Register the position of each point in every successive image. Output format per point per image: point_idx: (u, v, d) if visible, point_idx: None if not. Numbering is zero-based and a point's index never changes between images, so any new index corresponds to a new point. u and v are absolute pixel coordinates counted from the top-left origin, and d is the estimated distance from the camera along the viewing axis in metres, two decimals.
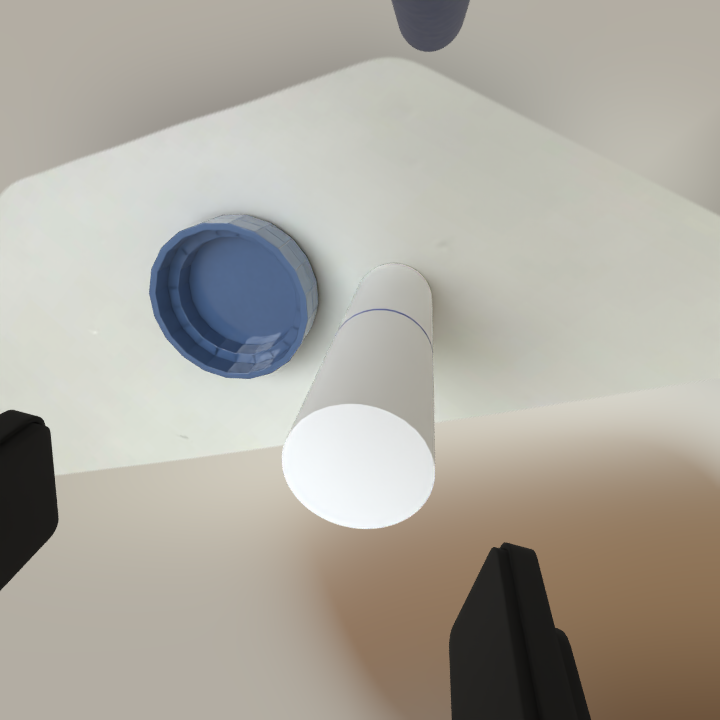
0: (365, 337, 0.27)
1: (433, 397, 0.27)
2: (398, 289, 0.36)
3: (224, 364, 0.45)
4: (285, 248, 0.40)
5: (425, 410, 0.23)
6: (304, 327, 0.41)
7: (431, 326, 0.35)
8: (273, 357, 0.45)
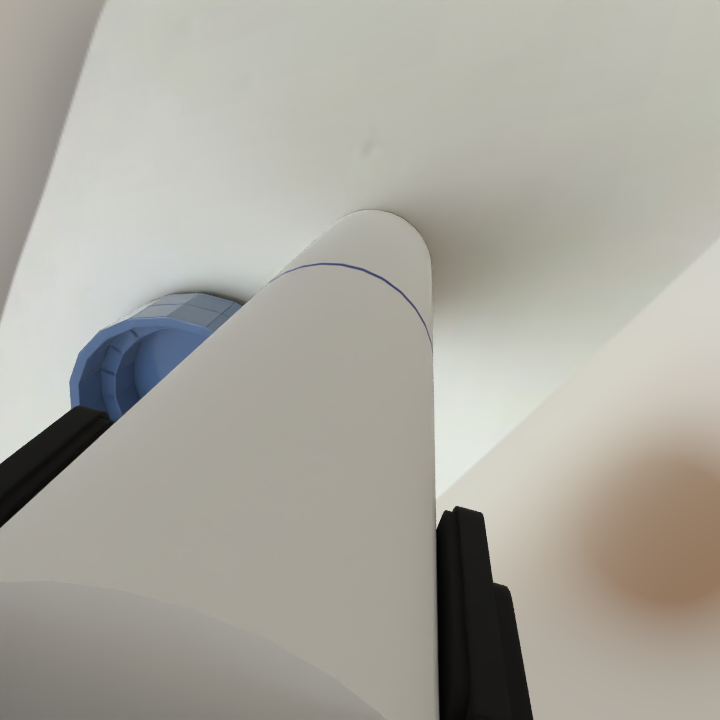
0: None
1: (385, 376, 0.10)
2: (315, 243, 0.20)
3: None
4: (184, 310, 0.27)
5: (275, 445, 0.07)
6: None
7: (395, 256, 0.19)
8: None
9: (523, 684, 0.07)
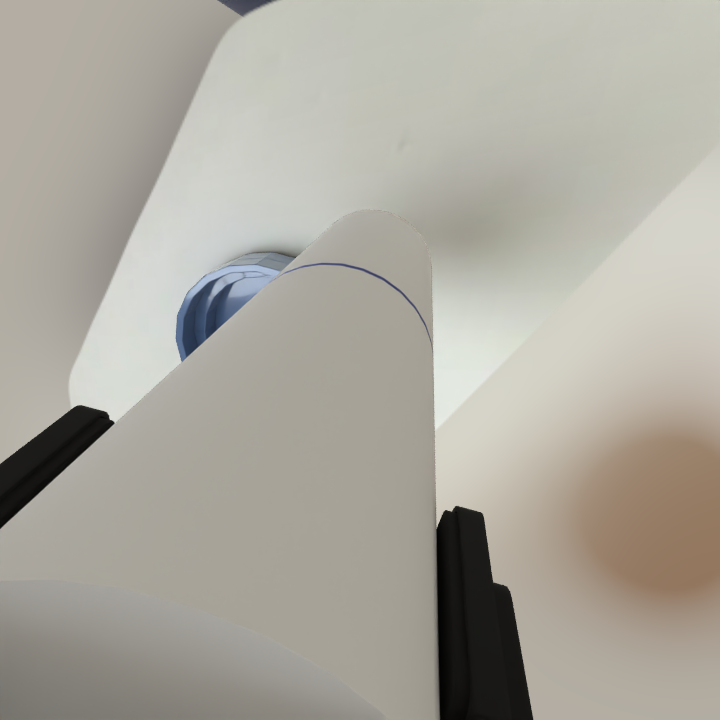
0: None
1: (385, 375, 0.10)
2: (315, 243, 0.20)
3: None
4: (266, 261, 0.37)
5: (276, 445, 0.07)
6: None
7: (396, 256, 0.19)
8: None
9: (523, 683, 0.07)
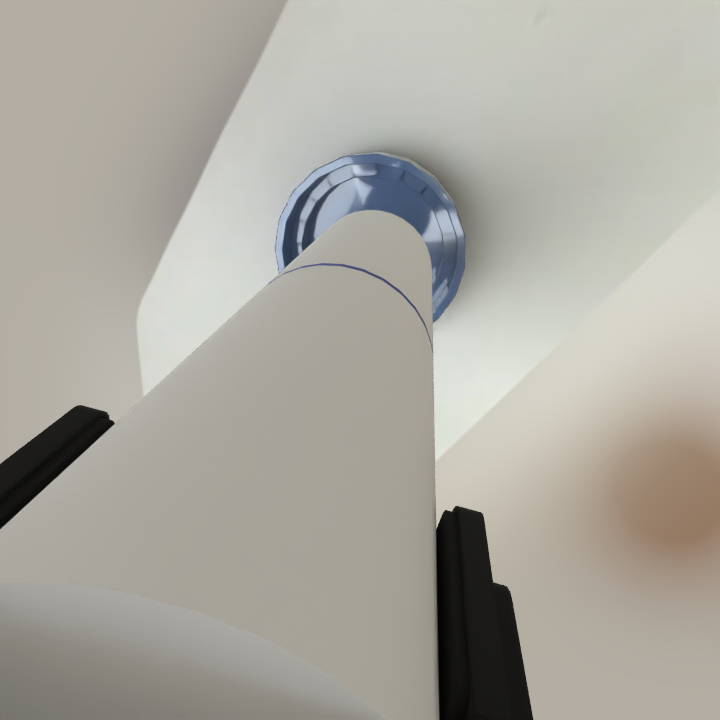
0: None
1: (385, 376, 0.10)
2: (315, 243, 0.20)
3: None
4: (383, 154, 0.33)
5: (275, 446, 0.07)
6: (456, 216, 0.33)
7: (395, 256, 0.19)
8: (445, 284, 0.38)
9: (522, 684, 0.07)
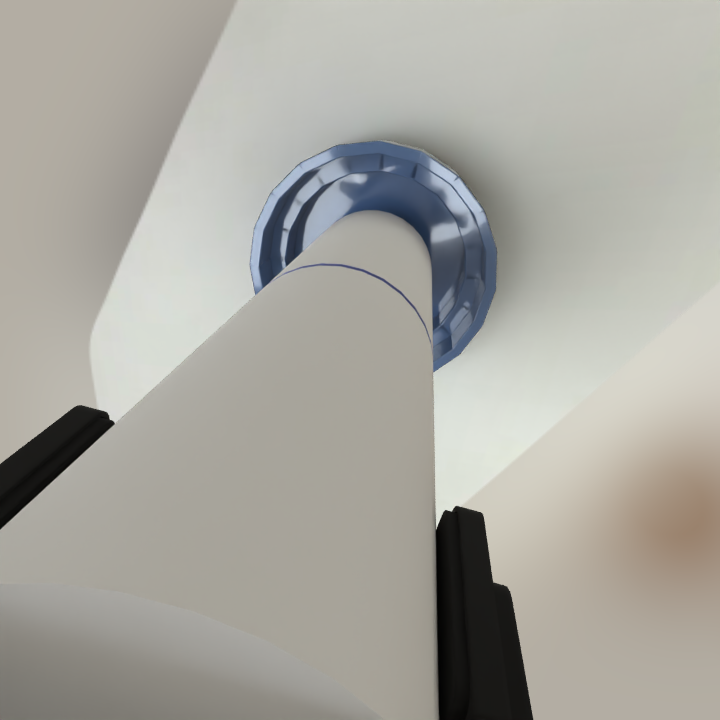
0: None
1: (385, 376, 0.10)
2: (314, 244, 0.20)
3: None
4: (389, 142, 0.25)
5: (275, 446, 0.07)
6: (486, 223, 0.25)
7: (395, 256, 0.19)
8: (468, 309, 0.30)
9: (523, 684, 0.07)
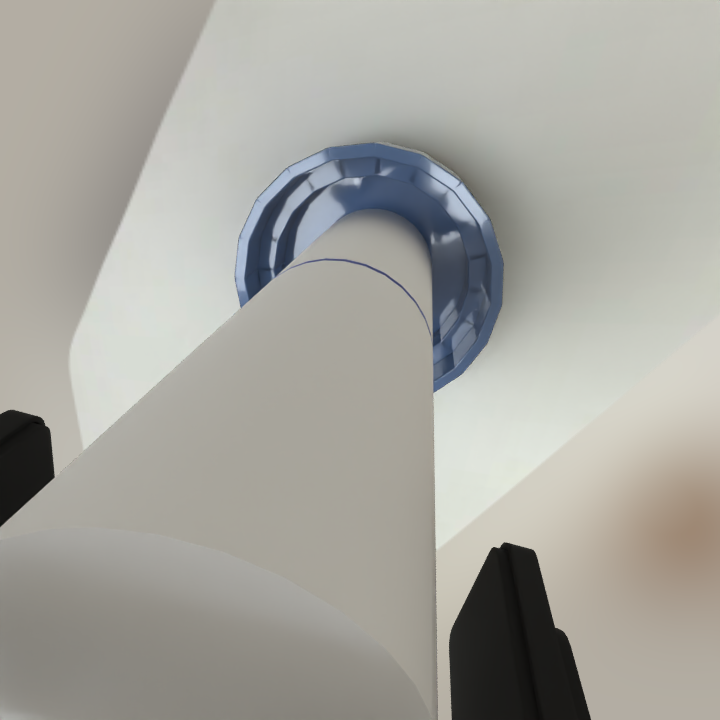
0: None
1: (387, 363, 0.11)
2: (318, 240, 0.21)
3: None
4: (385, 144, 0.23)
5: (288, 420, 0.07)
6: (492, 233, 0.23)
7: (397, 253, 0.20)
8: (472, 325, 0.27)
9: None
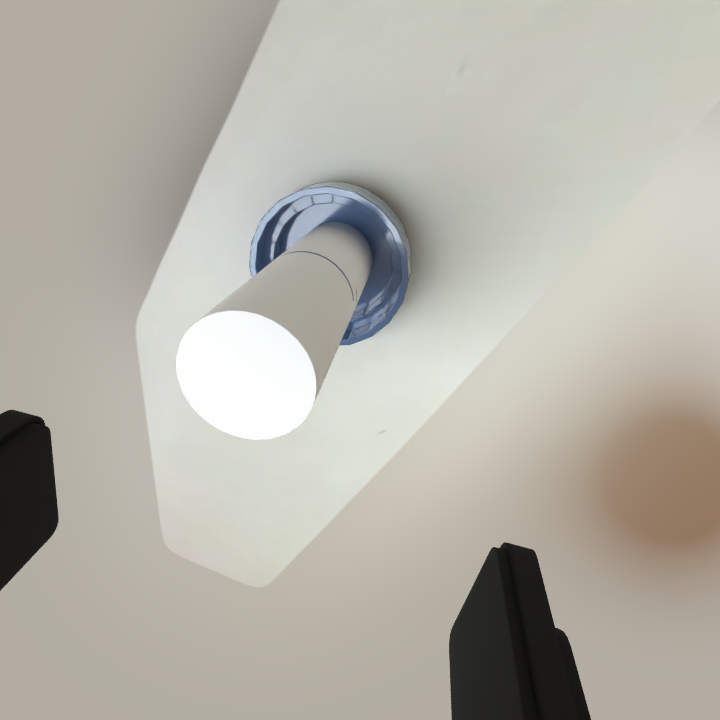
0: None
1: (316, 290, 0.27)
2: (296, 242, 0.38)
3: (362, 329, 0.45)
4: (335, 185, 0.40)
5: (275, 297, 0.24)
6: (398, 236, 0.40)
7: (338, 248, 0.36)
8: (396, 292, 0.44)
9: None
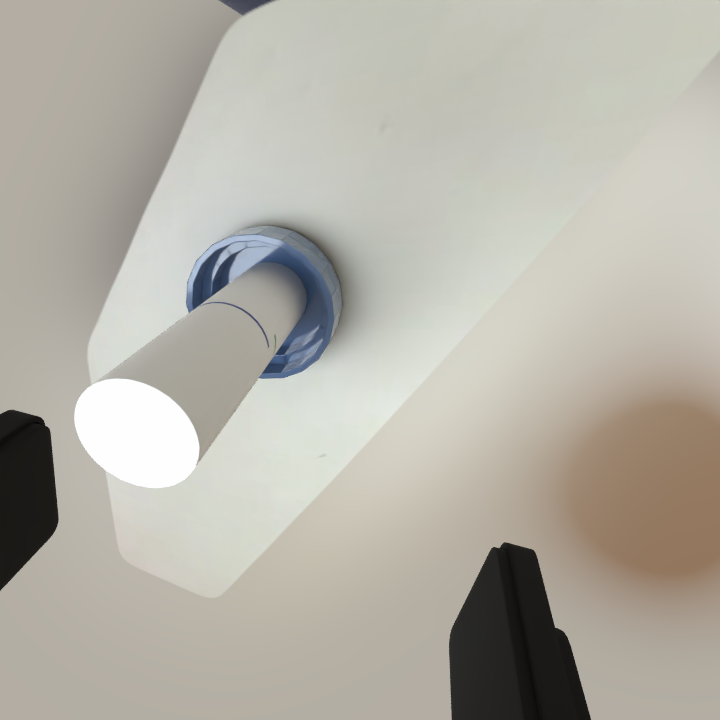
0: None
1: (217, 347, 0.30)
2: (224, 287, 0.40)
3: (295, 363, 0.47)
4: (265, 232, 0.42)
5: (167, 361, 0.27)
6: (323, 281, 0.42)
7: (260, 295, 0.39)
8: None
9: None
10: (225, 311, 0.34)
